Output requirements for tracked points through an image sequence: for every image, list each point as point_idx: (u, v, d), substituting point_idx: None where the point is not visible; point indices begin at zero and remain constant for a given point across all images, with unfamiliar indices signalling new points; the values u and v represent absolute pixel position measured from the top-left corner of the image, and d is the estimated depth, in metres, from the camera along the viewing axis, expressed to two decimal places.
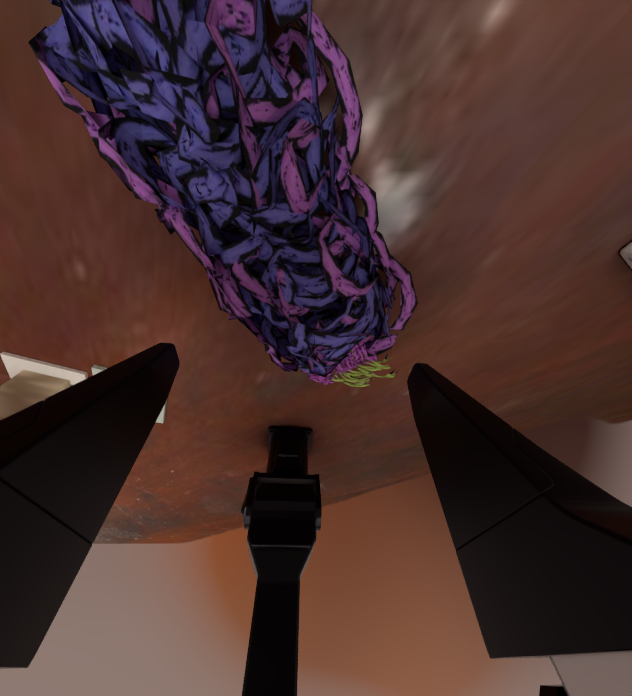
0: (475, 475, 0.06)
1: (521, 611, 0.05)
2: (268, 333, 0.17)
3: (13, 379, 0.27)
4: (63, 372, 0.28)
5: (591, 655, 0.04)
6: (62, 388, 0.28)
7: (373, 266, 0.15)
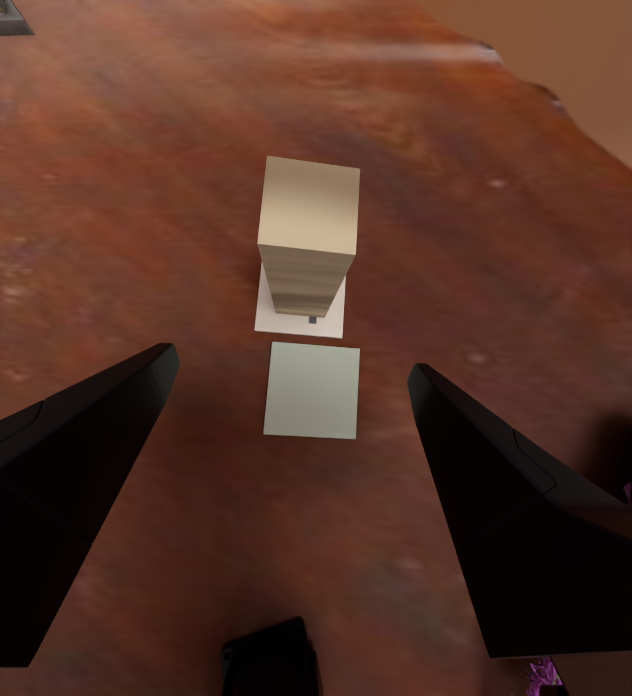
0: (475, 475, 0.06)
1: (521, 611, 0.05)
2: None
3: None
4: (337, 314, 0.23)
5: (591, 655, 0.04)
6: (323, 314, 0.22)
7: None
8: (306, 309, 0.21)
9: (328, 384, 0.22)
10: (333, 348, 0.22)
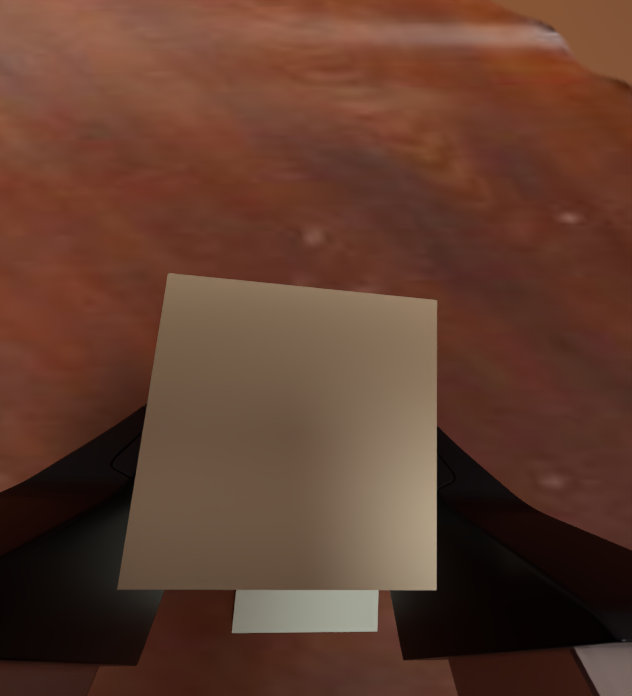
0: None
1: (422, 611, 0.05)
2: None
3: None
4: None
5: (472, 657, 0.04)
6: None
7: None
8: None
9: None
10: None
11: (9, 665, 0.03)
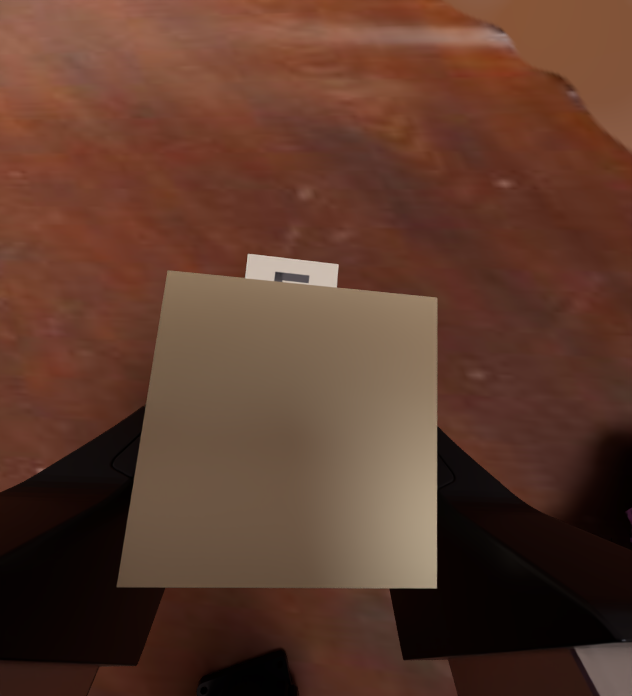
0: None
1: (422, 611, 0.05)
2: None
3: None
4: None
5: (472, 657, 0.04)
6: None
7: None
8: None
9: None
10: None
11: (9, 665, 0.03)
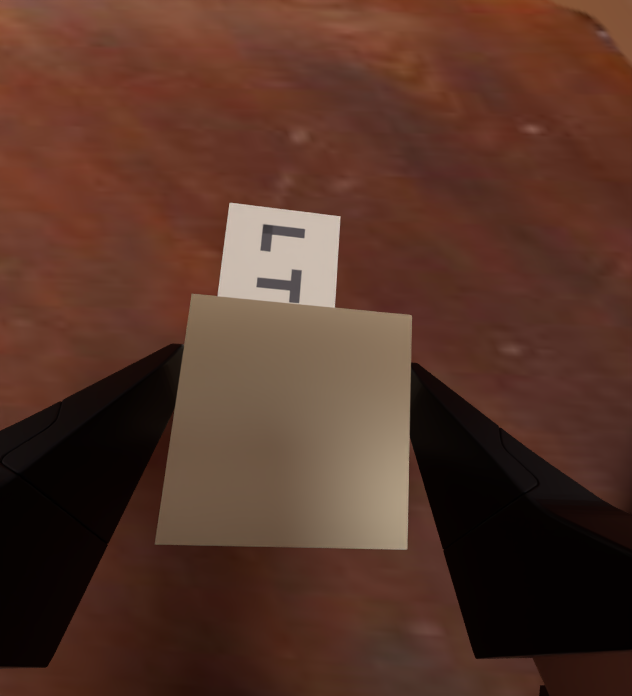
0: (461, 474, 0.06)
1: (504, 611, 0.05)
2: None
3: None
4: (328, 290, 0.17)
5: (571, 655, 0.04)
6: None
7: None
8: None
9: None
10: None
11: None
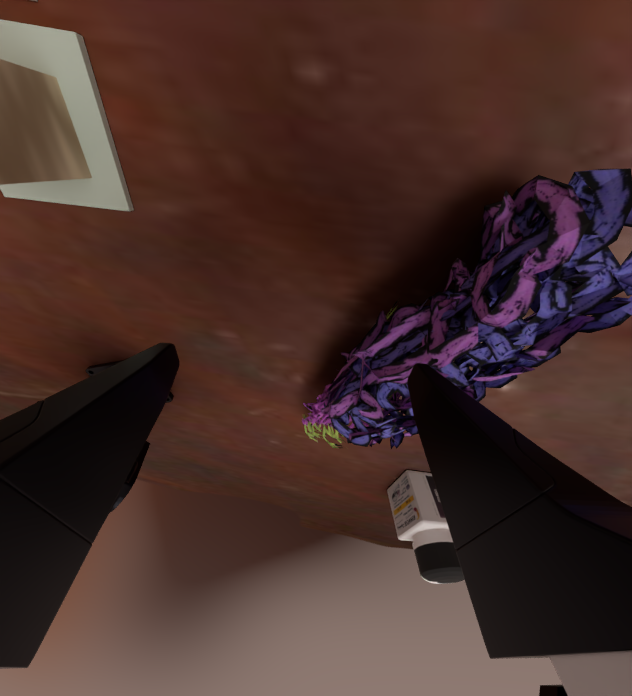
0: (474, 475, 0.06)
1: (521, 611, 0.05)
2: None
3: (34, 77, 0.12)
4: None
5: (591, 655, 0.04)
6: None
7: None
8: None
9: None
10: (24, 28, 0.12)
11: None
